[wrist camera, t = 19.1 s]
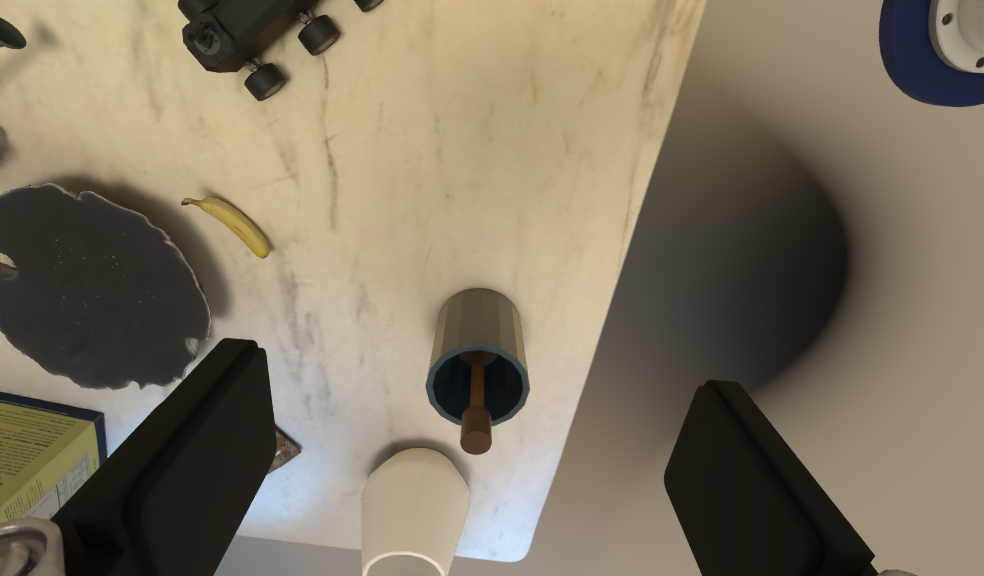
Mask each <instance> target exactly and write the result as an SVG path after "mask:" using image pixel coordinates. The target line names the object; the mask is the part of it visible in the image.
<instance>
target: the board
mask: <svg viewBox="0 0 984 576" xmlns="http://www.w3.org/2000/svg"><path fill="white" fill-rule="evenodd" d="M0 253H2V254H5V255H7V256H8V257H9V258H11V259H12V261H13V262H14V263H15V265H16V267H17V268H14V267H11V266H9V265H7V264H4V263H1V262H0V331H1V332H2V333H3V334H4V335H5V337H6V338H7V340H8V341H9V342H10V343H11V344H12V345H13V346H14V347H15V348H16V349H17V350H20V351H21V352H22V354H23V355H26V356H28V357H30V358H31V359H33V360H35V361H36V362H37V363H38V364H39V365H40V366H41V367H42V368H43V369H44V370H46V371H47V372H49V373H50V374H52V375H60V376H65V377H69V378H70V379H71V380H72V381H73V382H74V383H76V384H78V385H79V386H80V387H81V388H93V389H96V390H100V389H112V390H117V389H120V388H124V387H127V386H128V385H129V383H130V382H131V381H135V382H137V383H138V384H139V387H140V390H142V389H143V388H144V387H145V386H147V385H151V384H155V385H159V386H164V387H165V386H166V387H167V386H169V385H171V384H173V383H174V382H175V381H176V380H177V379H182V380H183V379H184V376H185V373H186V370H187V368H188V367H189V365H190V364H192V362H193V361H194V360H195V359H196V356H197V353H198V349H199V340H200V341H203V342H205V341H207V338H208V337H209V334H210V328H211V321H212V318H211V314H210V309H209V304H208V301H207V299H206V297H205V294H204V290H203V286H202V285H201V283H200V282H199V280H198V278H197V277H196V275H195V273H194V271H193V269H192V268H191V267H190V266H189V264H188V263H187V262H186V260H185V258H184V256H183V255H182V253H181V252H180V250H179V249H178V248H177V247H176V244H175V243H174V242H173V240H172V239H171V237H170V236H169V234H168V233H167V232H166V231H165V230H164V229H163V228H162V227H160V226H158V225H157V224H155V223H153V222H151V220H150V219H149V218H148V217H146V216H144V215H143V214H141V213H138V212H136V211H134V210H130V209H126V208H124V207H122V206H119V205H117V204H116V203H114V202H111V201H109V200H108V199H106V198H104V197H102V196H100V195H98V194H96V193H93V192H92V191H84V192H80V193H76V192H74V191H72V190H70V189H68V188H65V187H62V186H59V185H57V184H52V183H47V184H44V185H37V186H31V185H29V186H25V187H21V188H17V189H13V190H10V191H6V192H4V193H3V194H2V196H0Z"/></svg>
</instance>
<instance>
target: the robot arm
mask: <svg viewBox="0 0 984 576" xmlns="http://www.w3.org/2000/svg"><path fill="white" fill-rule="evenodd" d="M928 27H929V36H930V40H931V43H932V47H933V49H934V50H935V52H936V54H937V55H938V57H939V58H940V59H941V60H942V61H943V62H944V63H945V64H946V65H948V66H950V67H952V68H954V69H956V70H959V71H964V72H969V73H984V0H931V3H930V10H929V17H928ZM276 451H277V438H276V430H275V422H274V413H273V405H272V397H271V389H270V380H269V372H268V364H267V356H266V351H265V349H263V348H258V344H257V343H256V341H254V340H245V339H233V338H224V339H222V340H221V341H220V342H219V343H218V344H217V345H216V346H215V347H214V348H213V349H212V350H211V352H210V353H209V354H208V355H207V356H206V357H205V358H204V359H203V360H202V361H201V362H200V363H199V364H198V365H197V366H196V367H195V368H194V370H193V371H192V372H191V373H190V374H189V375H188V376H187V377H186V378H185V379H184V380H183V381H182V382H181V383H180V384H179V385H178V386H177V388H176V389H175V390H174V391H173V392H172V393H171V394H170V395H169V396H168V397H167V398H166V399H165V400H164V401H163V402H162V403H161V404H159V405H158V406H157V407H156V408H155V409H154V410H153V411H152V412H151V413H150V414H149V415H148V417H147V418H146V419H145V420H144V421H143V422H142V423H141V424H140V425H139V426H138V427H137V428H136V429H135V430H134V431H133V432H132V433H131V434H130V435H129V437H128V438H127V439H126V440H125V441H124V442H123V443H122V444H121V445H120V446H119V447H118V448H117V449H116V450H115V451H114V452H113V453H112V454H111V456H110V457H109V458H108V459H107V460H106V461H105V462H104V463H103V464H102V465H101V466H100V467H99V468H98V469H97V470H96V471H95V472H94V473H93V474H92V476H91V477H90V478H89V479H88V480H87V481H86V482H85V483H84V484H83V485H82V486H81V487H80V488H79V489H78V490H77V491H76V492H75V493H74V495H73V496H72V497H71V498H70V499H69V500H68V501H67V502H66V503H65V504H64V505H63V506H62V507H61V508H60V509H59V510H58V511H57V512H56V514H55V515H54V516H53V517H52V518H51V519H50V520H49V519H44V518H37V517H28V518H19V519H13V520H9V521H6V522H2V523H0V576H213V575H214V573H215V571H216V569H217V567H218V566H219V564H220V562H221V560H222V558H223V556H224V554H225V552H226V550H227V549H228V547H229V545H230V543H231V541H232V539H233V537H234V535H235V533H236V531H237V530H238V528H239V526H240V524H241V522H242V520H243V518H244V516H245V514H246V512H247V511H248V509H249V507H250V505H251V503H252V501H253V499H254V497H255V495H256V494H257V492H258V490H259V488H260V486H261V484H262V482H263V480H264V478H265V476H266V475H267V473H268V471H269V469H270V467H271V465H272V463H273V461H274V459H275V456H276ZM664 484H665V488H666V491H667V493H668V496H669V498H670V500H671V503H672V505H673V508H674V510H675V512H676V515H677V517H678V520H679V522H680V524H681V527H682V529H683V531H684V534H685V536H686V538H687V541H688V543H689V546H690V548H691V550H692V553H693V555H694V557H695V560H696V562H697V564H698V567H699V569H700V572H701V574H702V576H917V575H915V574H912V573H908V572H904V571H901V570H884V571H883V572H881V573H878V572H877V571H876V570H875V568H874V567H873V566H872V564H871V563H870V562H871V561H872V559H873V558H874V557H875V555H874V554H873V552H872V551H871V550H870V549H869V547H868V546H867V545H866V543H865V542H864V541H863V540H862V538H861V537H860V536H859V535H858V533H857V532H856V531H855V530H854V528H853V527H852V526H851V524H850V523H849V522H848V521H847V519H846V518H845V517H844V516H843V514H842V513H841V512H840V511H839V509H838V508H837V507H836V506H835V504H834V503H833V502H832V500H831V499H830V498H829V497H828V495H827V494H826V493H825V492H824V490H823V489H822V488H821V486H820V485H819V484H818V483H817V481H816V480H815V479H814V478H813V476H812V475H811V474H810V473H809V471H808V470H807V469H806V467H805V466H804V465H803V464H802V462H801V461H800V460H799V459H798V458H797V456H796V455H795V453H794V452H793V451H792V450H791V448H790V447H789V446H788V445H787V443H786V442H785V441H784V440H783V438H782V437H781V436H780V434H779V433H778V432H777V431H776V430H775V428H774V427H773V426H772V425H771V423H770V422H769V421H768V419H767V418H766V417H765V415H764V414H763V413H762V412H761V410H760V409H759V408H758V407H757V405H756V404H755V403H754V402H753V400H752V399H751V398H750V397H749V395H748V394H747V393H746V391H745V390H744V389H743V388H742V386H741V385H740V384H739V383H737V382H733V381H721V380H708V381H707V382H706V383H705V384H704V386H699V387H698V388H697V390H696V392H695V395H694V397H693V400H692V402H691V405H690V408H689V410H688V413H687V416H686V418H685V421H684V423H683V426H682V428H681V431H680V434H679V436H678V439H677V442H676V444H675V447H674V449H673V452H672V454H671V457H670V460H669V463H668V465H667V468H666V470H665V474H664Z"/></svg>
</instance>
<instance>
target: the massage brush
mask: <svg viewBox="0 0 984 576" xmlns="http://www.w3.org/2000/svg"><path fill="white" fill-rule="evenodd" d="M4 46H5V47H8V48H12V49H22V48H24V47H25V46H26V40H25V38H24V36H23V35H22V34H21V33H20V31H19V30H18V29H16V28H15V27H14V26H13V25H12V24H10V23H9V22H7V21H6V20H4V19H2V18H0V47H4Z"/></svg>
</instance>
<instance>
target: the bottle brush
mask: <svg viewBox="0 0 984 576" xmlns="http://www.w3.org/2000/svg"><path fill="white" fill-rule="evenodd" d="M458 355H459V357H460V358H461V359H462V360H463V361H464V362H465V363H467V364H469V365H472V367H471V390H470V407H469V408H467V409H466V410H465V411H464V412H463V414H462V426H461V441H460V444H461V447H462V449H463V450H464V451H465V452H467V453H469V454H474V455H479V454H483V453H485V452H487V451H488V450H489V449H490V447H491V444H492V435H491V414H490V412H489V411H488V409H486V408H485V407H484V365H487V364H490V363H491V362H493V361H494V360H495V359H496V358H497V356H498V354H497V353H492V352H487V351H482V350H476V351H469V352H461V353H459V354H458Z"/></svg>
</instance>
